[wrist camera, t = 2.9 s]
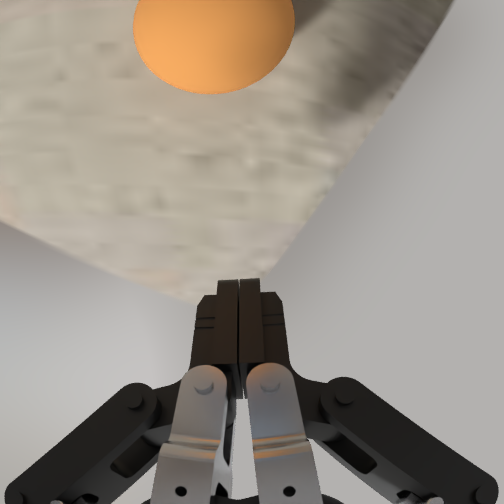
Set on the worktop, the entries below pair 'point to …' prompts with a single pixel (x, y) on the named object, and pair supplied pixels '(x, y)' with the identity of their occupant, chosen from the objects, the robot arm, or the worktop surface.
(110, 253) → the worktop surface
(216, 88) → the ball
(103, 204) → the worktop surface
